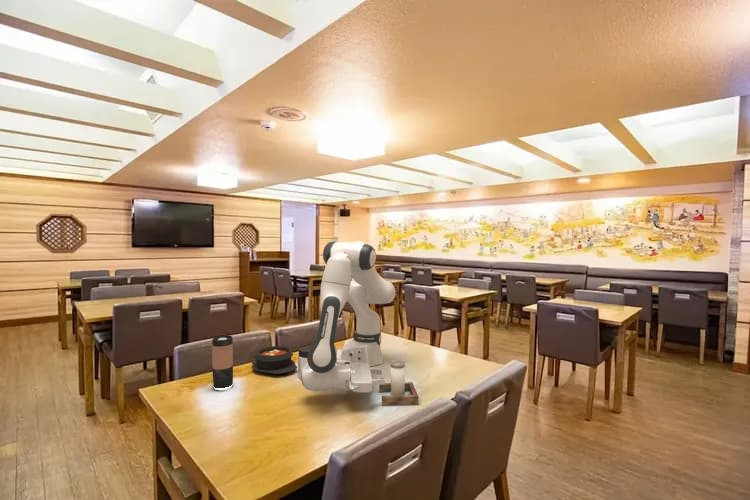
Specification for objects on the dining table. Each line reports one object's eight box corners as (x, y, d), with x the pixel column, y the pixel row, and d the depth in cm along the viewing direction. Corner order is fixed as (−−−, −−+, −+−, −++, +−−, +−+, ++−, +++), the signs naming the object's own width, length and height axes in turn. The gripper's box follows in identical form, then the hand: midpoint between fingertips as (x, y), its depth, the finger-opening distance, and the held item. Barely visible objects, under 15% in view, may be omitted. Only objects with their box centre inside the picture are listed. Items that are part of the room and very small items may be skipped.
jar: (320, 378, 157) (320, 350, 156) (301, 381, 153) (301, 353, 153) (314, 371, 165) (314, 344, 165) (296, 374, 161) (296, 347, 161)
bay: (382, 405, 132) (382, 397, 132) (379, 390, 145) (379, 383, 145) (418, 404, 133) (418, 396, 132) (412, 389, 146) (412, 382, 145)
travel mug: (237, 385, 149) (237, 336, 149) (222, 393, 142) (221, 341, 142) (223, 382, 153) (222, 334, 152) (208, 389, 146) (207, 339, 145)
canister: (389, 399, 137) (389, 364, 136) (392, 393, 142) (391, 360, 142) (403, 401, 135) (403, 365, 135) (406, 395, 141) (406, 361, 140)
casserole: (307, 370, 166) (307, 352, 166) (269, 382, 153) (269, 362, 153) (277, 357, 184) (277, 341, 184) (241, 367, 171) (241, 349, 170)
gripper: (345, 379, 126) (386, 378, 127) (345, 359, 147) (380, 359, 148) (345, 397, 127) (386, 396, 128) (345, 375, 147) (380, 374, 148)
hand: (383, 376), depth 138 cm, fingers open, 8 cm apart
